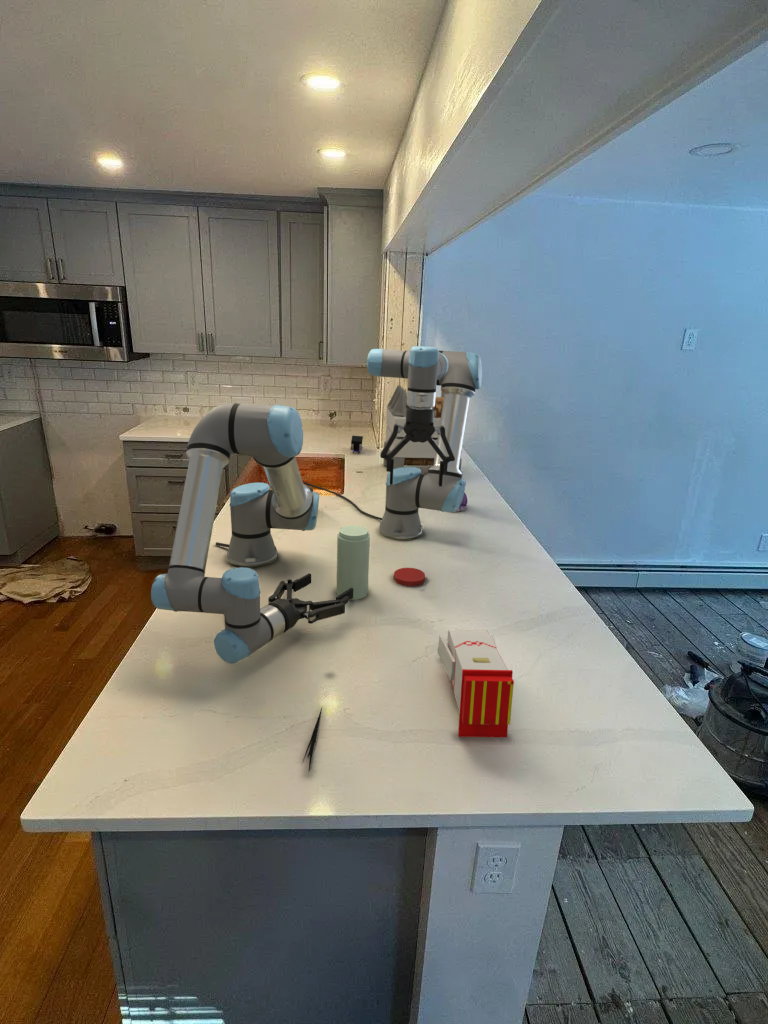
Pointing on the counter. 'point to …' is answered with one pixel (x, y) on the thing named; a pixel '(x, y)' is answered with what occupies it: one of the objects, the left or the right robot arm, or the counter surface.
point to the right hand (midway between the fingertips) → (415, 484)
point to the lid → (409, 576)
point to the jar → (353, 560)
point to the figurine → (463, 503)
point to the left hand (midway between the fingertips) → (330, 585)
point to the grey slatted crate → (412, 450)
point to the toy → (478, 682)
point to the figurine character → (356, 443)
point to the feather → (313, 740)
